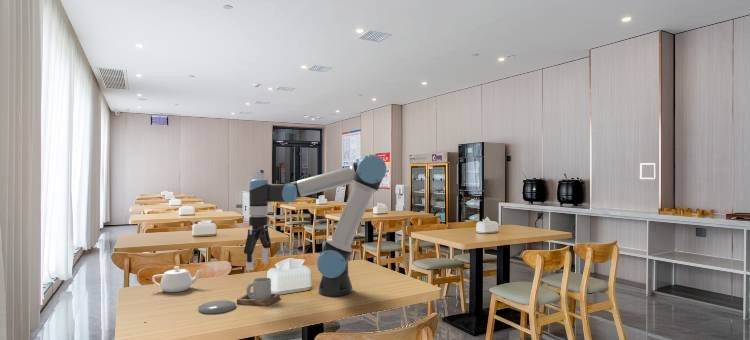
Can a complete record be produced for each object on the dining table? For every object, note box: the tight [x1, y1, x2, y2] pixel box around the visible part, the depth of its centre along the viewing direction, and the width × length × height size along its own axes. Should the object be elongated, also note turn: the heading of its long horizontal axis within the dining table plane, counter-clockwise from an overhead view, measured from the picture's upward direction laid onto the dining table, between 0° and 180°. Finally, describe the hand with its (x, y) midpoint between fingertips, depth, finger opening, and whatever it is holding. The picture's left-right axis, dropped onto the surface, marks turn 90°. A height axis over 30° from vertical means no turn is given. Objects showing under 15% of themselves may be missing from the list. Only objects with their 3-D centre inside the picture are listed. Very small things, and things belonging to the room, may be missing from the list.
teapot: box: [151, 265, 203, 293], centre depth 199 cm, size 22×14×11 cm, turn 109°
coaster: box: [197, 300, 237, 315], centre depth 171 cm, size 14×14×1 cm
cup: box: [245, 277, 272, 301], centre depth 181 cm, size 7×10×9 cm
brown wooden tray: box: [236, 291, 281, 307], centre depth 181 cm, size 14×11×2 cm
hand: (257, 266), depth 181 cm, fingers open, 13 cm apart
